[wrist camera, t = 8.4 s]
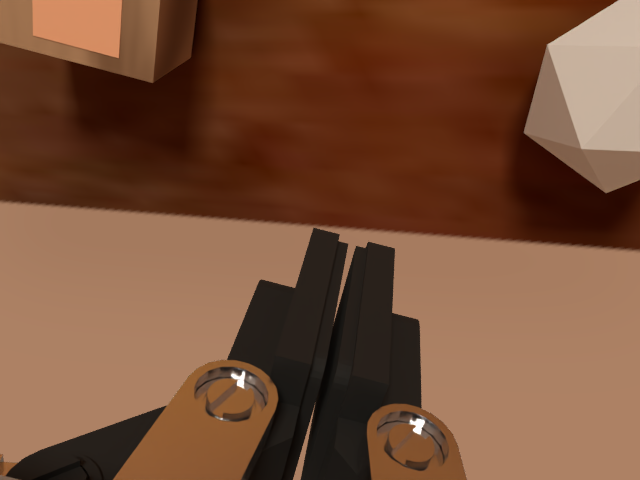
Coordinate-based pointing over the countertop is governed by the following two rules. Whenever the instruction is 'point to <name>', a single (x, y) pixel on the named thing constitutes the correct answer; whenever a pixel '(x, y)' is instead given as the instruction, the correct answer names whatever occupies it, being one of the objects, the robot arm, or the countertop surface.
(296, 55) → the countertop surface
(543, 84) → the die
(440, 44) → the countertop surface
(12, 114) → the countertop surface
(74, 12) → the block
